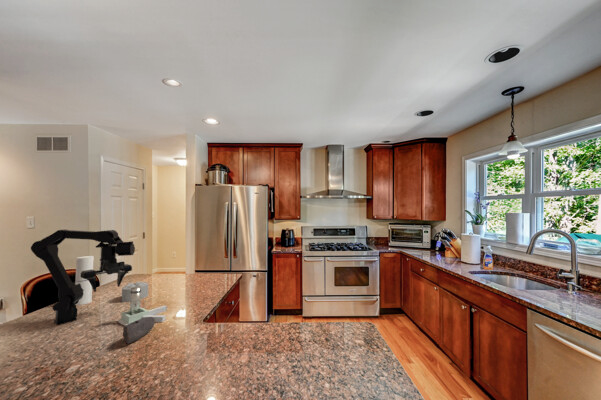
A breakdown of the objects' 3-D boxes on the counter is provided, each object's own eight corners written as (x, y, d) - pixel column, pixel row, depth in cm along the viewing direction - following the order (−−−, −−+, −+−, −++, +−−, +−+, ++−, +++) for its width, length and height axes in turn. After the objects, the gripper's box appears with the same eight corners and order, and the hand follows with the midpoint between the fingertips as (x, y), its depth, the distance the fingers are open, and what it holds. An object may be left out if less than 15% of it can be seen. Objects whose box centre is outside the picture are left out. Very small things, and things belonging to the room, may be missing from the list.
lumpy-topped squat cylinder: (150, 295, 145) (151, 280, 145) (130, 303, 132) (130, 287, 133) (137, 293, 148) (138, 279, 148) (116, 301, 135) (116, 285, 136)
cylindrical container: (70, 304, 131) (73, 257, 132) (86, 299, 138) (88, 255, 139) (80, 305, 129) (82, 258, 130) (94, 301, 136) (96, 256, 137)
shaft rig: (135, 332, 100) (135, 322, 100) (117, 321, 110) (118, 313, 110) (179, 315, 116) (179, 307, 116) (160, 307, 125) (161, 300, 126)
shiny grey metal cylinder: (129, 321, 108) (130, 289, 109) (129, 318, 112) (130, 287, 112) (140, 318, 111) (141, 288, 111) (140, 315, 114) (141, 285, 115)
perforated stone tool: (149, 327, 104) (150, 311, 105) (159, 328, 103) (160, 312, 103) (116, 346, 90) (117, 327, 90) (128, 347, 88) (128, 328, 89)
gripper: (89, 261, 104) (87, 298, 103) (137, 255, 120) (136, 286, 119) (81, 258, 110) (79, 293, 110) (127, 253, 126) (126, 283, 125)
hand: (107, 289), depth 116 cm, fingers open, 9 cm apart
